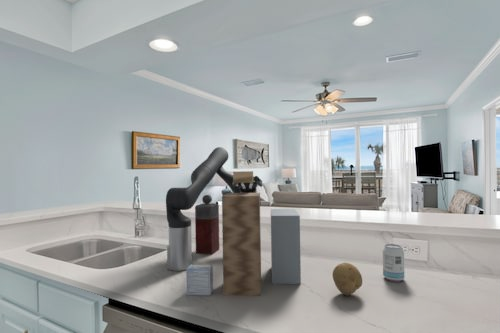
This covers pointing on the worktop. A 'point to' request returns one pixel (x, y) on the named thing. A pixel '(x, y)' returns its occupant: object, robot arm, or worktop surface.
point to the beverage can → (393, 262)
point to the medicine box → (199, 279)
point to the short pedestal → (285, 246)
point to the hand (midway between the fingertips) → (245, 173)
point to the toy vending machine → (207, 226)
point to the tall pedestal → (241, 244)
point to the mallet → (243, 177)
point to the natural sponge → (347, 278)
